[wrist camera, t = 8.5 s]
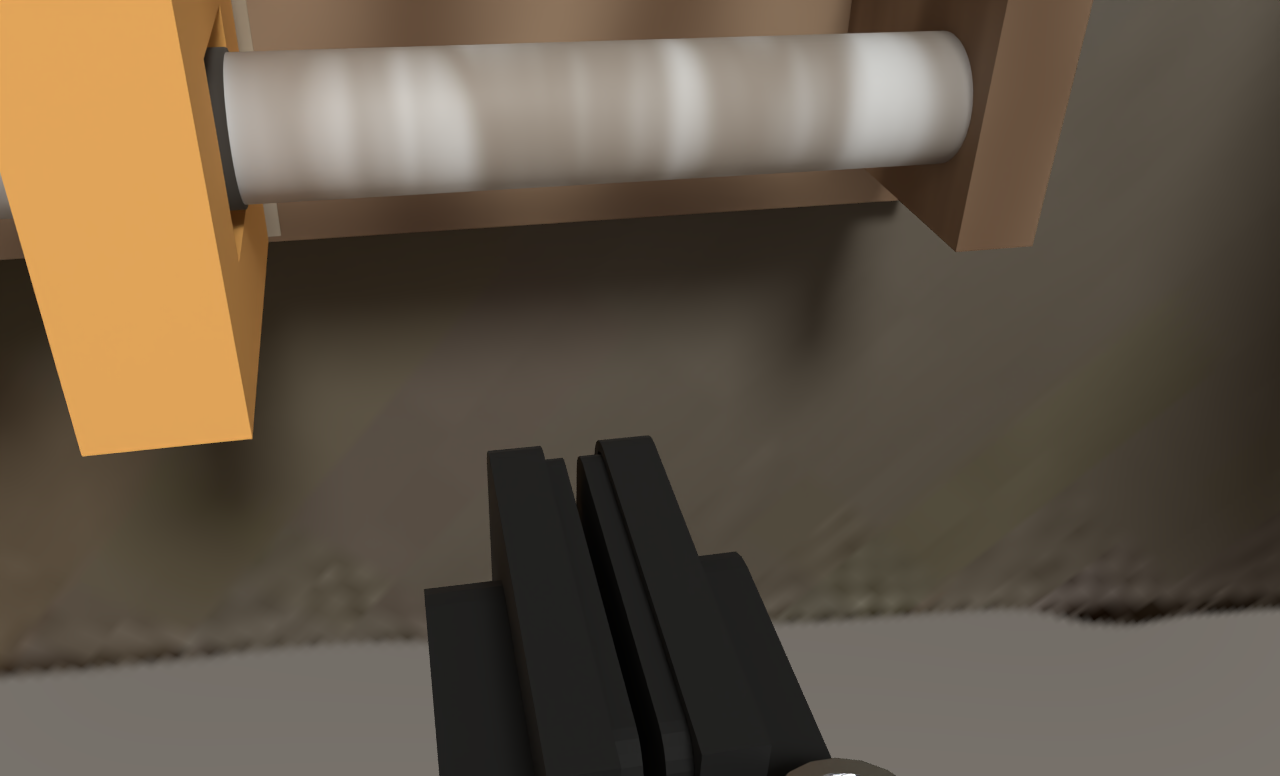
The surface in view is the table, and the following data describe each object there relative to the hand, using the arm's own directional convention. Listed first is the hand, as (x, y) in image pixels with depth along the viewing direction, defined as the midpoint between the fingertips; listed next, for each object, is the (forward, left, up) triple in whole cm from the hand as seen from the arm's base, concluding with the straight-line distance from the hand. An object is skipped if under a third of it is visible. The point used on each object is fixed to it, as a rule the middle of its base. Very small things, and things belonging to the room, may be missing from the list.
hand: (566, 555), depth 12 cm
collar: (+6, 0, -19) cm, 20 cm away
